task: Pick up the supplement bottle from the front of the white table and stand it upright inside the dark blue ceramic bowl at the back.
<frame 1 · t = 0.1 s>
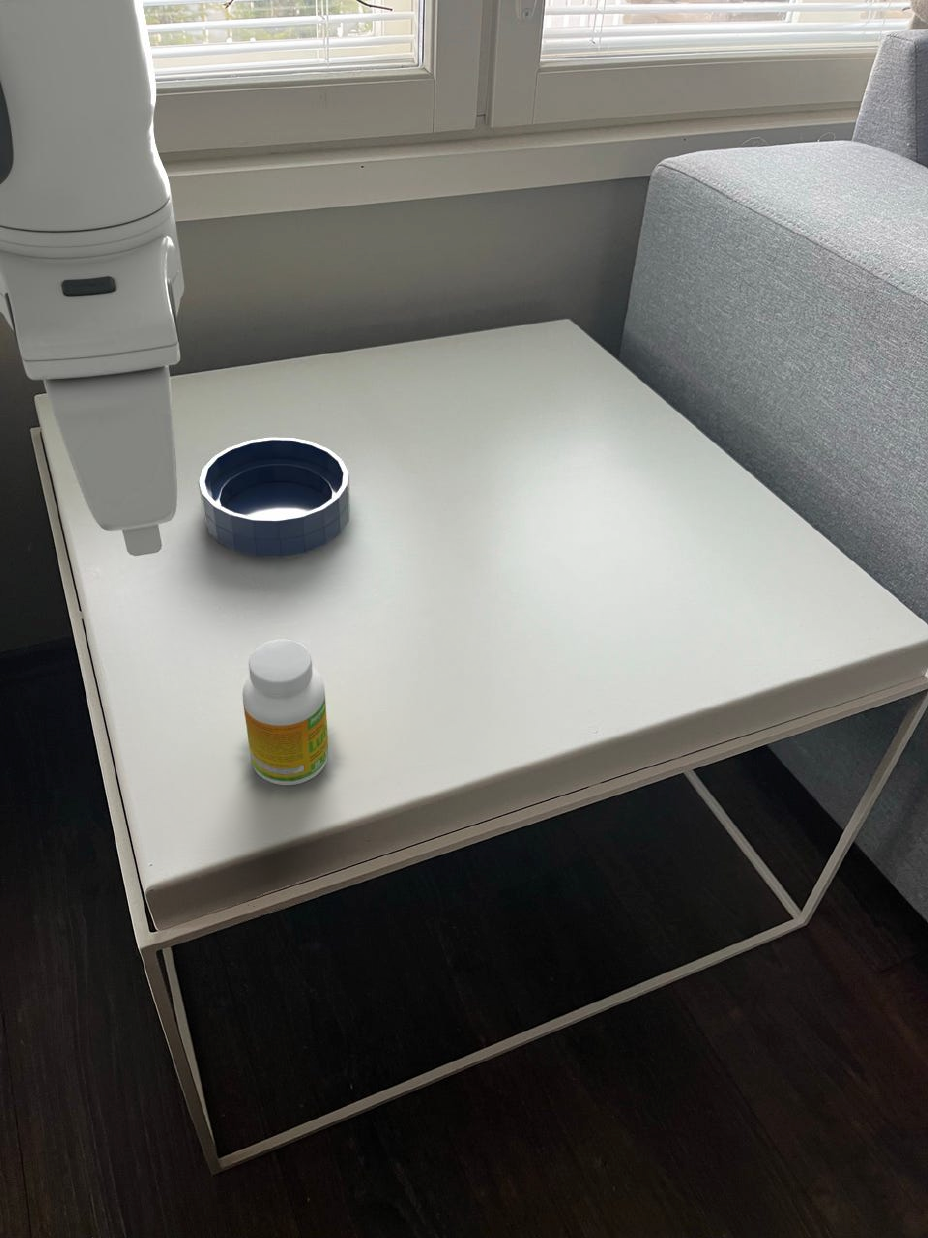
hand: (135, 497, 56), 21 cm above the table, tool pointing down, fingers open, 8 cm apart
supplement bottle: (290, 759, 69), on the table
blue bowl: (278, 517, 89), on the table
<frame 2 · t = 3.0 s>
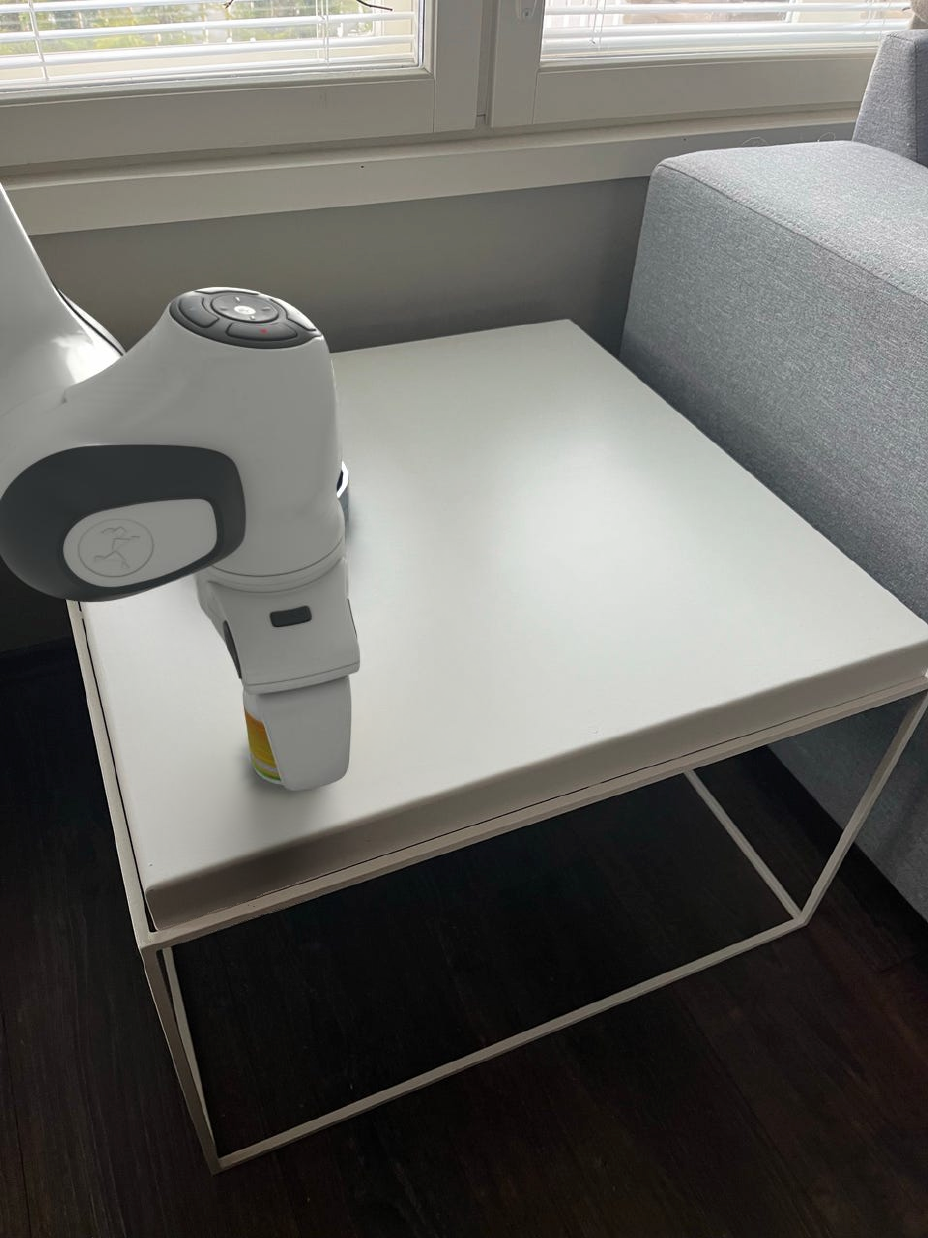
hand: (286, 723, 66), 4 cm above the table, tool pointing down, fingers closed on supplement bottle, 5 cm apart
supplement bottle: (290, 759, 69), on the table, touching gripper
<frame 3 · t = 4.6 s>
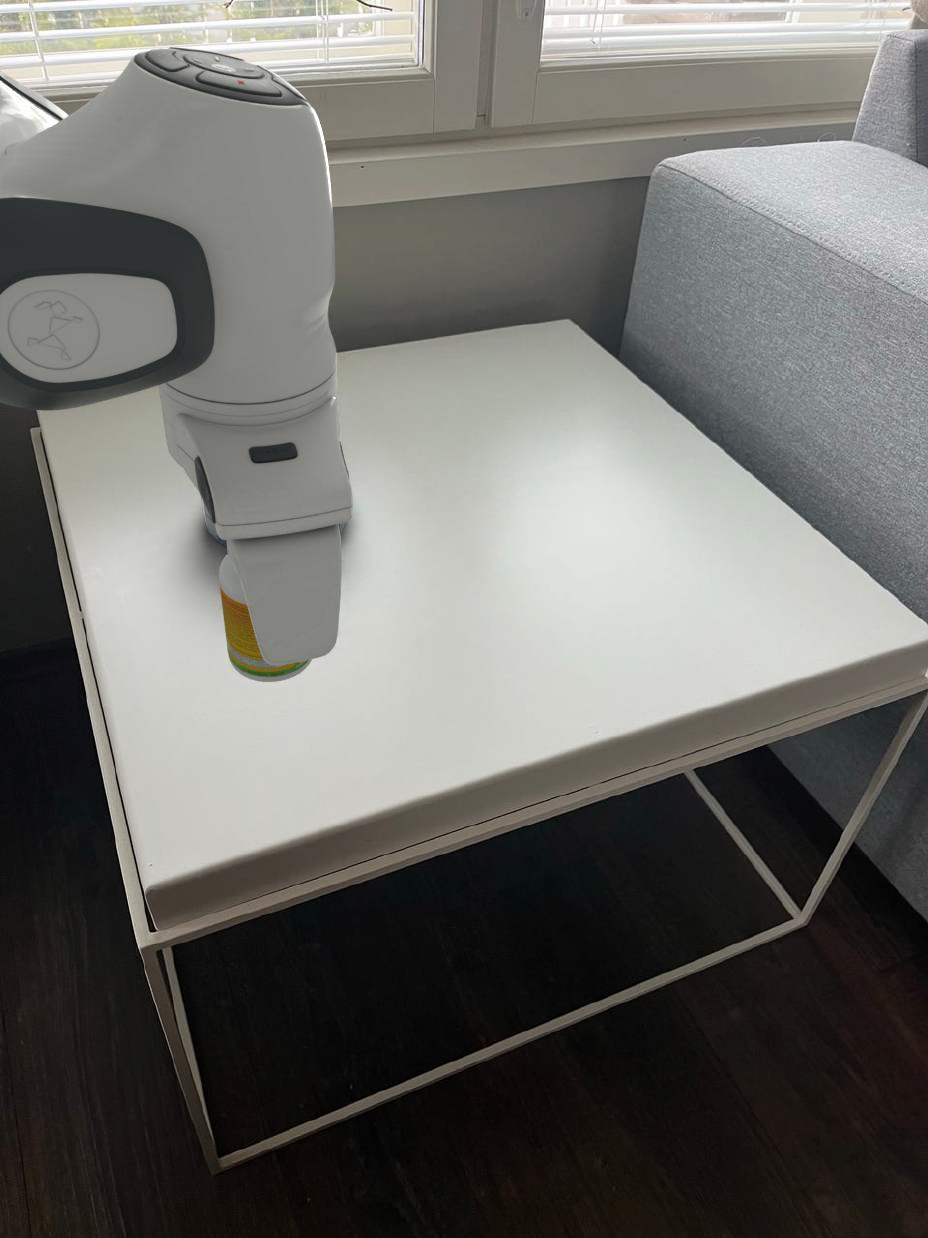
hand: (268, 612, 59), 14 cm above the table, tool pointing down, fingers closed on supplement bottle, 5 cm apart
supplement bottle: (272, 656, 62), point 10 cm above the table, touching gripper
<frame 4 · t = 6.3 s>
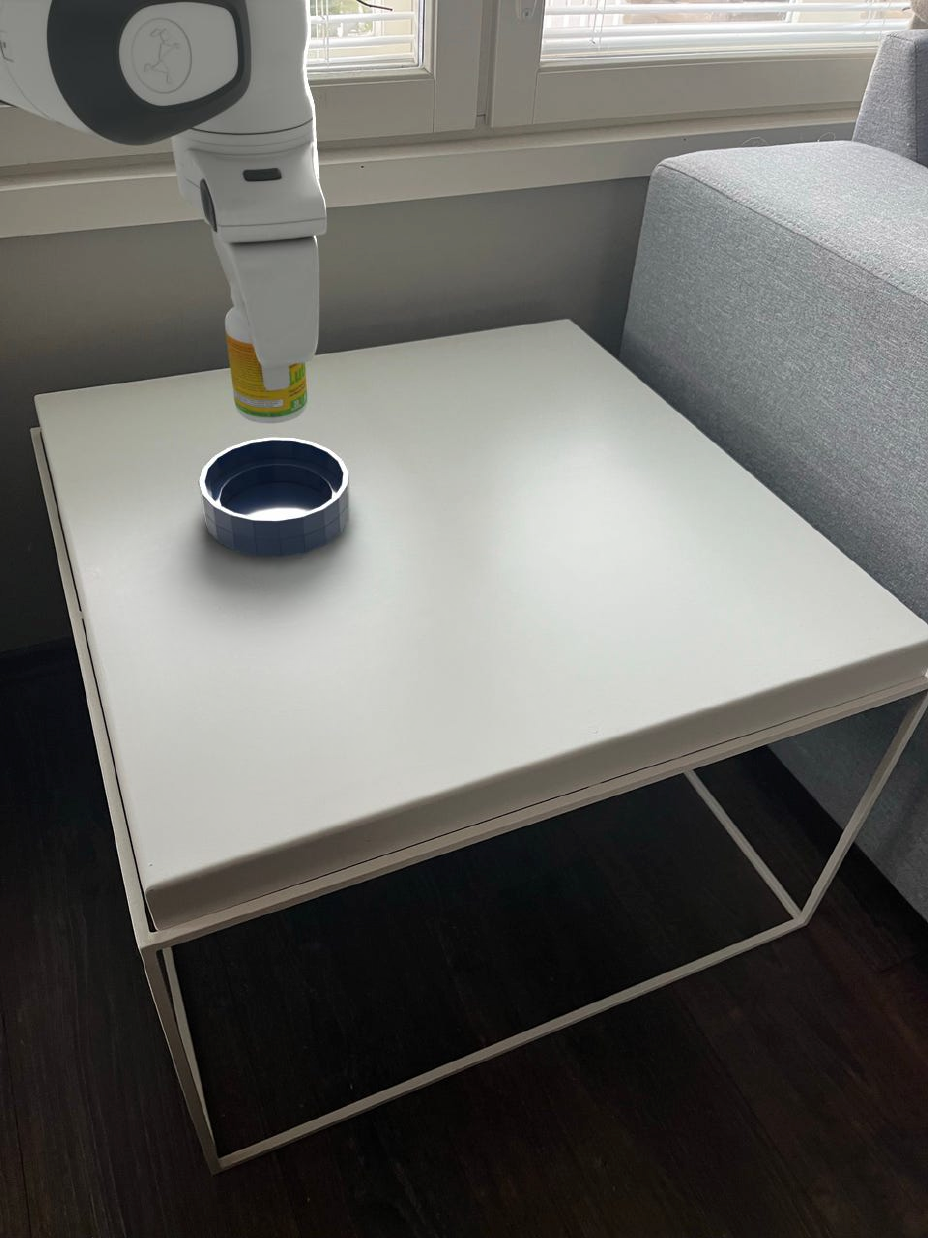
hand: (266, 362, 71), 20 cm above the table, tool pointing down, fingers closed on supplement bottle, 5 cm apart
supplement bottle: (272, 409, 73), point 16 cm above the table, touching gripper
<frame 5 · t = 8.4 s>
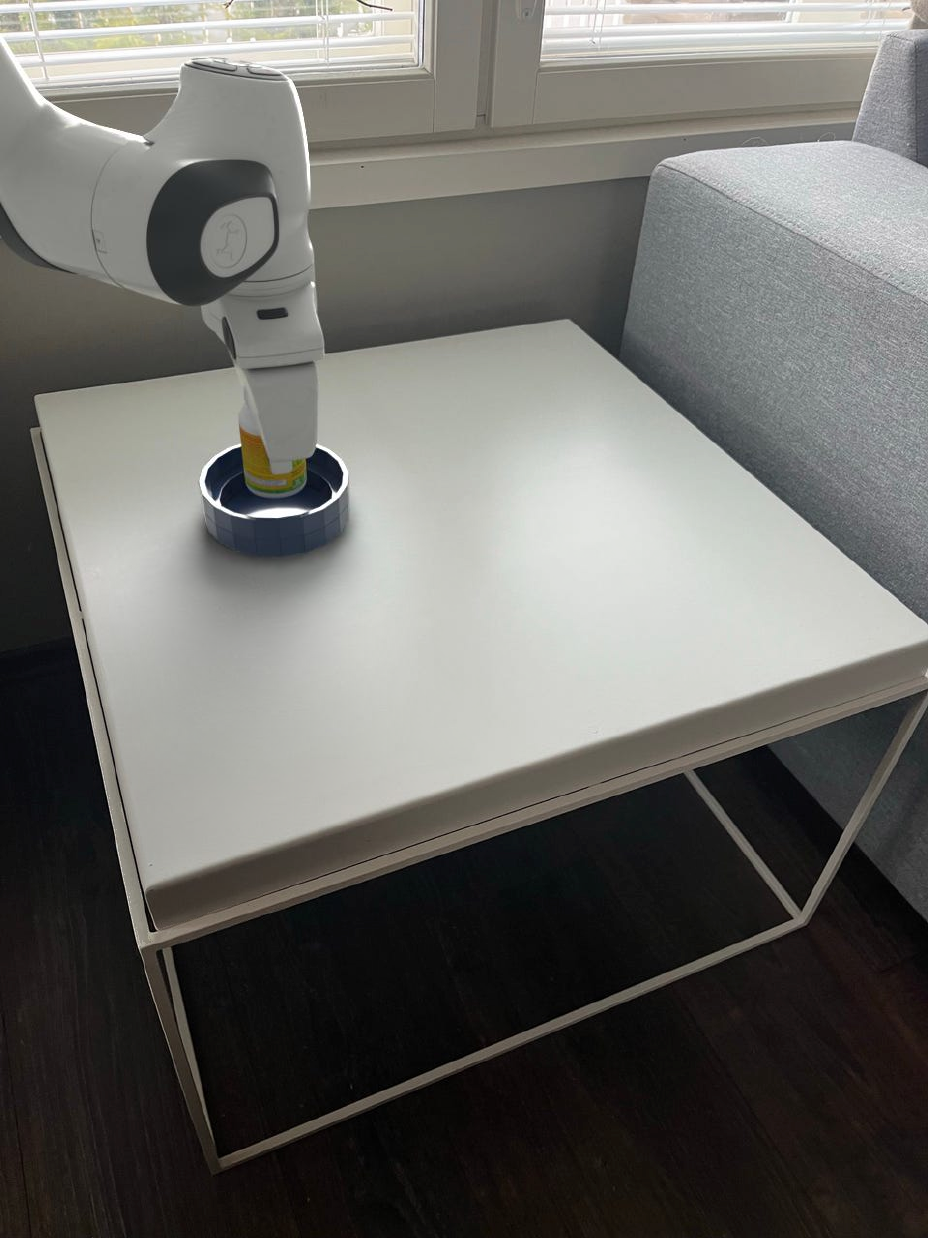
hand: (272, 448, 84), 7 cm above the table, tool pointing down, fingers closed on supplement bottle, 5 cm apart
supplement bottle: (276, 484, 87), point 4 cm above the table, touching gripper
when the fingers open (4 cm above the table, at t = 9.9 s): supplement bottle stays where it is, resting on blue bowl.
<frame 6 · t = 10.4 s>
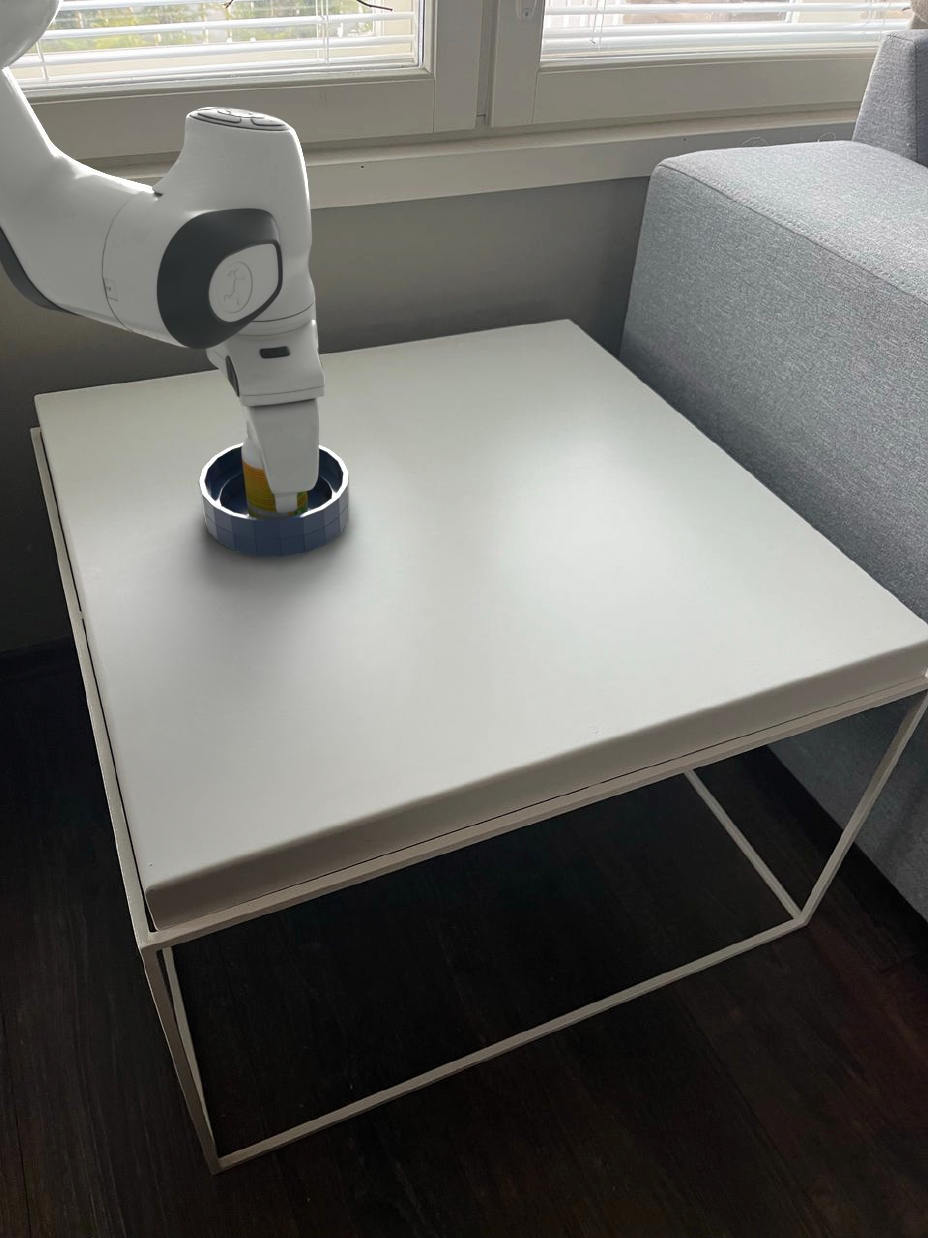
hand: (274, 477, 86), 4 cm above the table, tool pointing down, fingers open, 8 cm apart
supplement bottle: (278, 514, 89), resting on blue bowl
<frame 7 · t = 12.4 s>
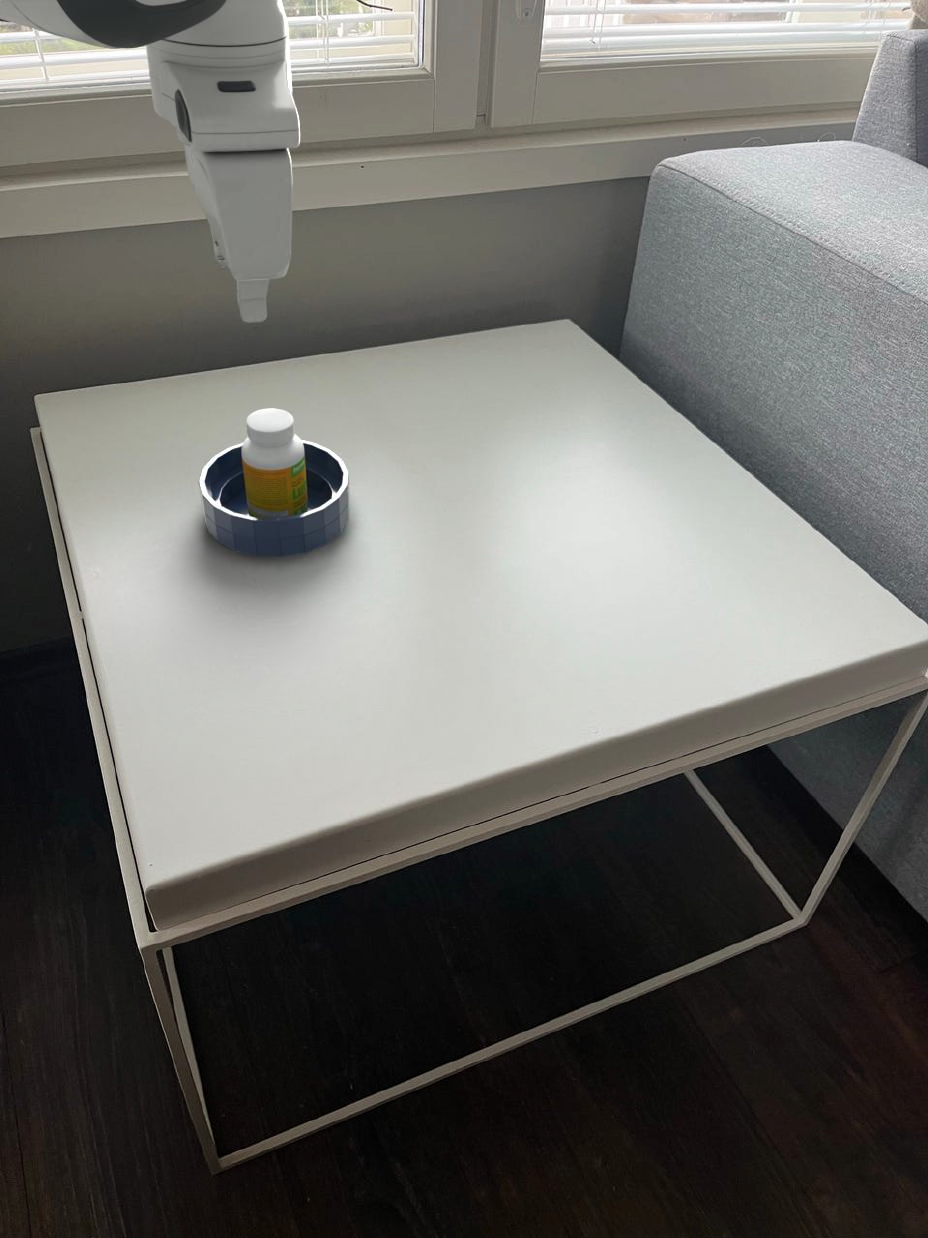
hand: (240, 290, 72), 23 cm above the table, tool pointing down, fingers open, 8 cm apart
nothing on the table moved.
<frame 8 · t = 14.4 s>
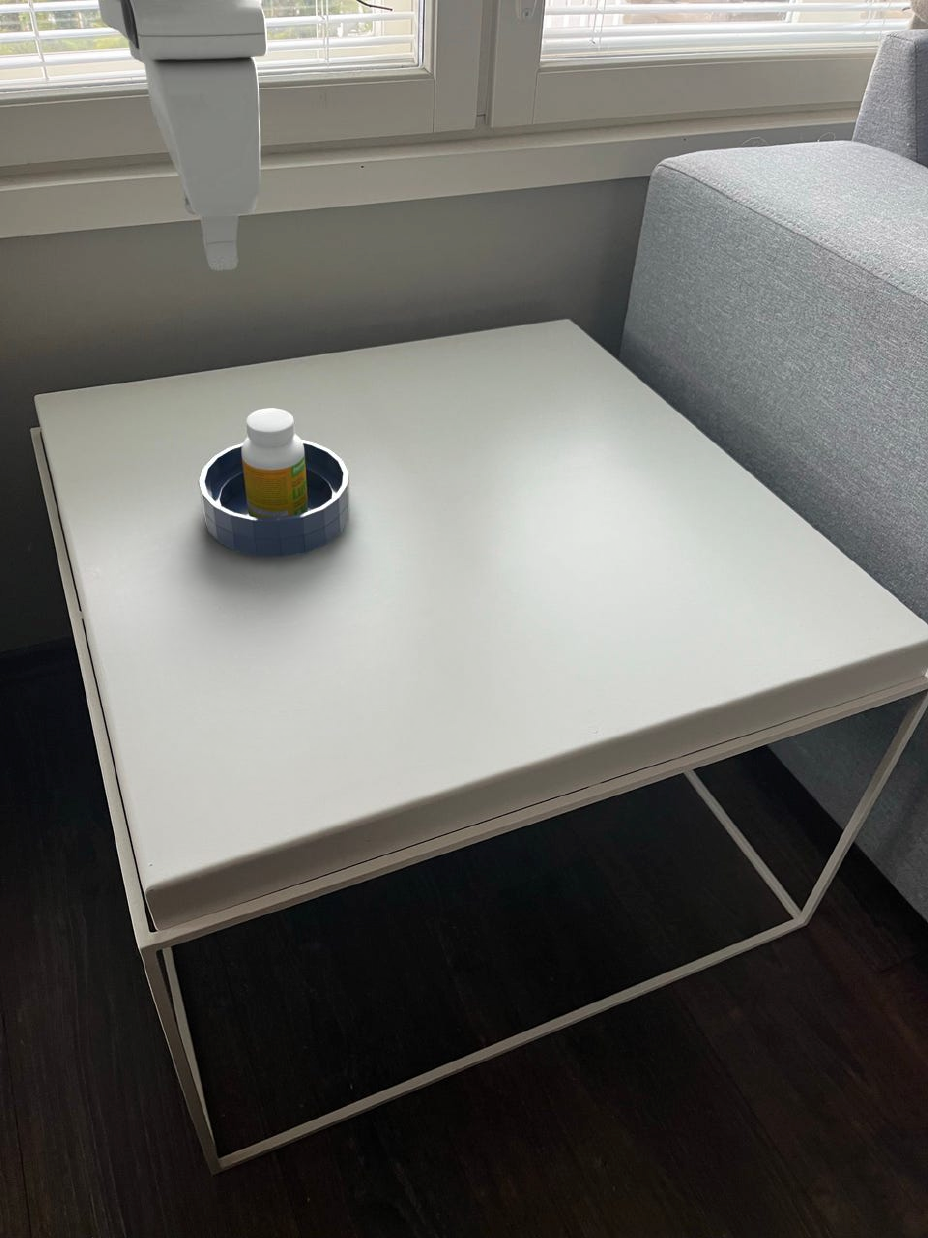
hand: (209, 236, 63), 29 cm above the table, tool pointing down, fingers open, 8 cm apart
nothing on the table moved.
at the end: supplement bottle 0.1 cm off-centre in the blue bowl, point 0.4 cm above the blue bowl's base; supplement bottle tilted 0°; the gripper is holding nothing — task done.
